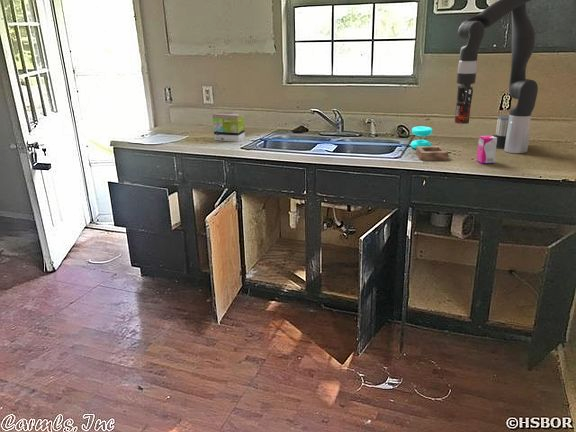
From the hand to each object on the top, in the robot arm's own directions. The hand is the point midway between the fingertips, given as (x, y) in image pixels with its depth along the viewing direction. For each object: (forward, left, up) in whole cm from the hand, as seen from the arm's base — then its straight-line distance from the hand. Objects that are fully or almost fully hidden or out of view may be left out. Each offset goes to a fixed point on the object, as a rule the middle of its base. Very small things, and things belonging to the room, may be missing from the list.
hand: (462, 111), depth 207 cm
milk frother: (-27, -27, -22) cm, 44 cm away
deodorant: (0, 0, -5) cm, 5 cm away
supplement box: (-10, +5, -22) cm, 25 cm away
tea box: (+113, -50, -22) cm, 125 cm away
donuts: (+12, -24, -22) cm, 34 cm away
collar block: (+11, -6, -21) cm, 25 cm away
